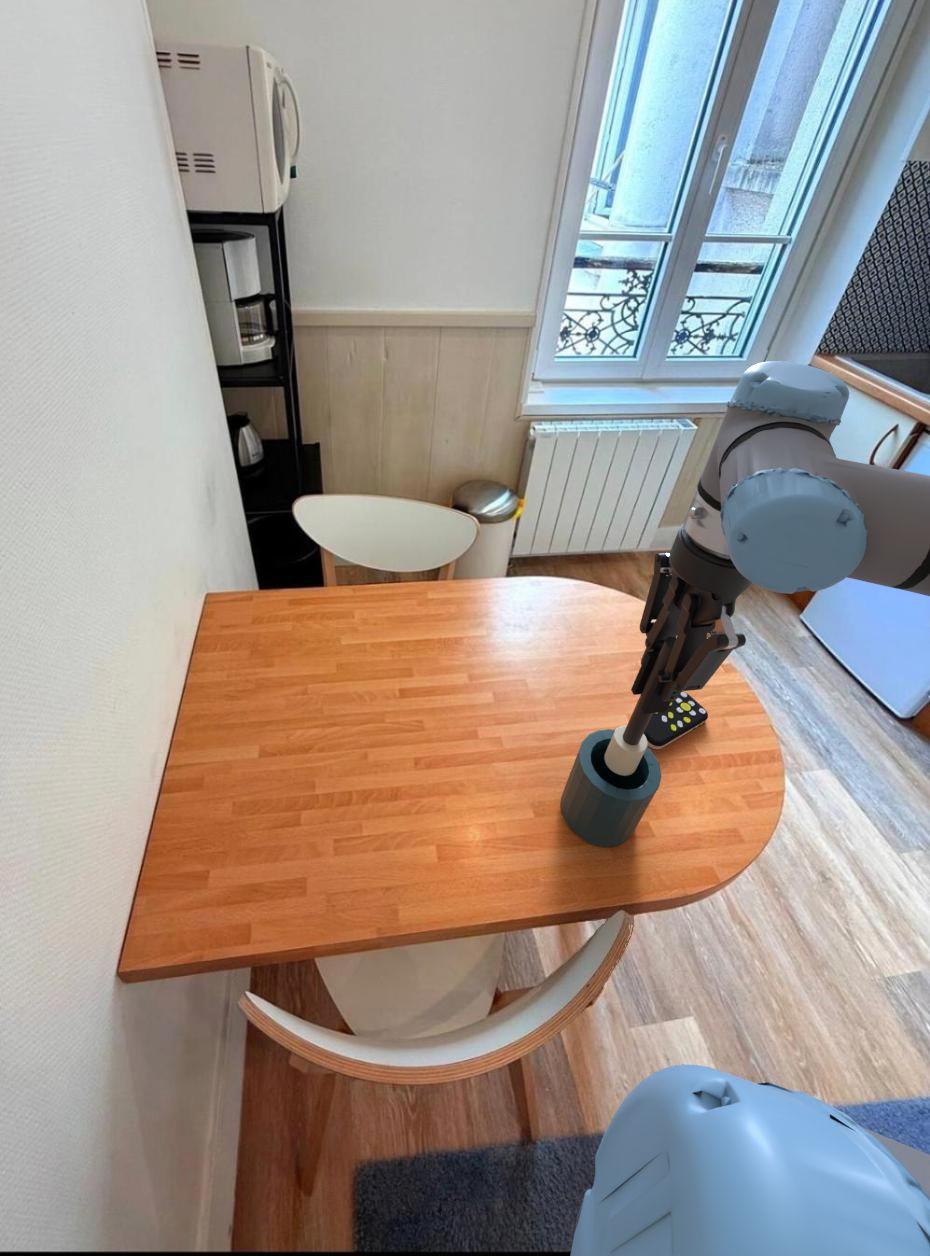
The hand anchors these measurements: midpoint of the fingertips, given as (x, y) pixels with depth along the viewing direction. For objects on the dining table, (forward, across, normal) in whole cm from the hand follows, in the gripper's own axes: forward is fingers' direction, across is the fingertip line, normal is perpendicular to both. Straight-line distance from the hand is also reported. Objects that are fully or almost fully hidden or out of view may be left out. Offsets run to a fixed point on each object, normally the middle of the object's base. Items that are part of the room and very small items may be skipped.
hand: (648, 700), depth 70 cm
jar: (+25, 0, 0) cm, 25 cm away
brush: (+12, 0, 0) cm, 12 cm away
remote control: (+25, -13, +17) cm, 33 cm away
